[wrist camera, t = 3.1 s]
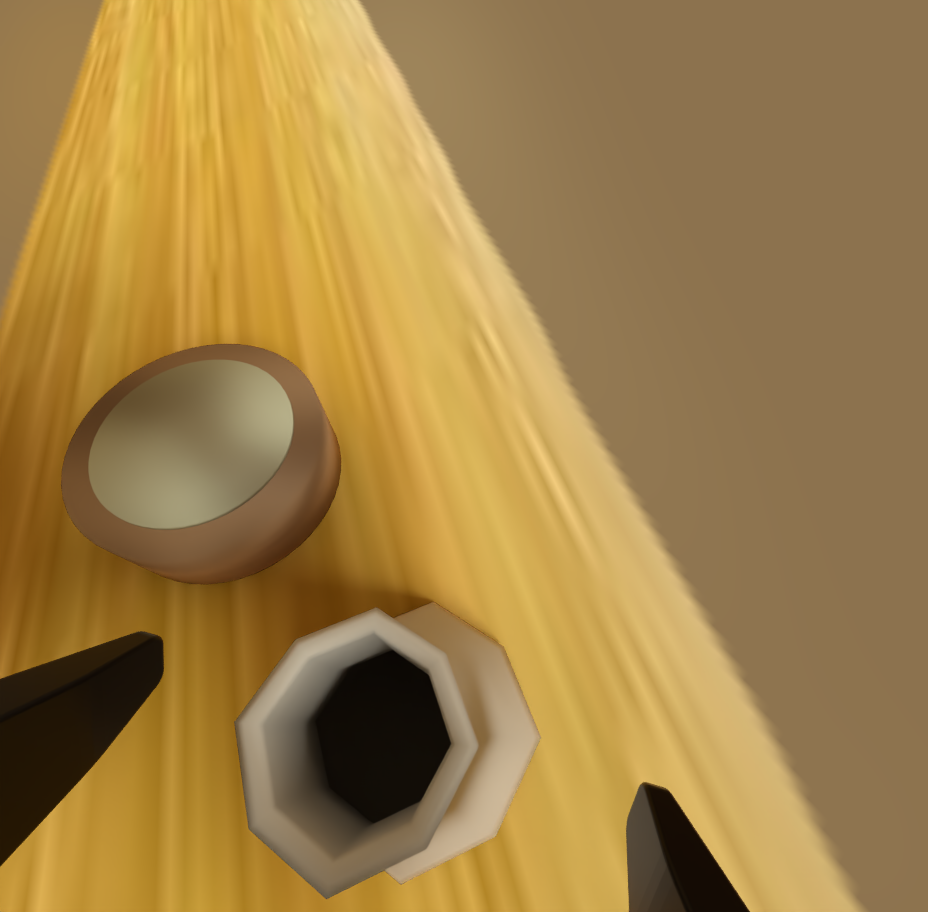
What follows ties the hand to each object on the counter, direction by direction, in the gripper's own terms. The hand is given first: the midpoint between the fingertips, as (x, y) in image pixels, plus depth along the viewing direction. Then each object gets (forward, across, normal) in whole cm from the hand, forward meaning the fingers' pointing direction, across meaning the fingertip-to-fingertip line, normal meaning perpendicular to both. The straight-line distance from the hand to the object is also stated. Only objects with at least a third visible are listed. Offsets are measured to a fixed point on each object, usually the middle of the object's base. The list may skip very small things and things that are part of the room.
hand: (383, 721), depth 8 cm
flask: (+6, 0, +6) cm, 8 cm away
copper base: (+10, +10, +1) cm, 14 cm away
